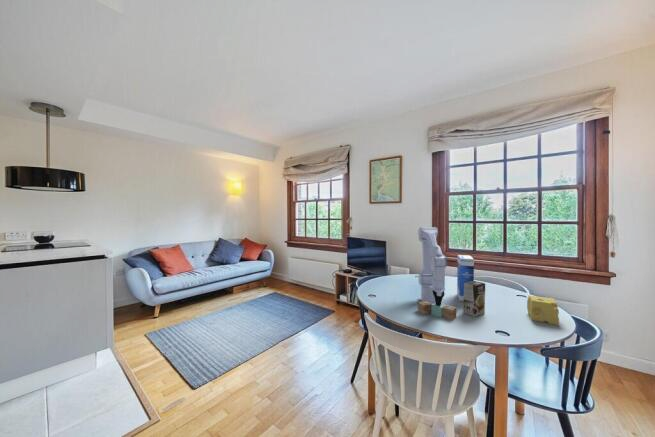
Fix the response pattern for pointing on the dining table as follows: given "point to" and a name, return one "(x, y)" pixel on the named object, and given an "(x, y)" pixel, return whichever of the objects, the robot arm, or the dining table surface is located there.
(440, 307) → the plain block
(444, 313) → the digit block seven
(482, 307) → the coffee box
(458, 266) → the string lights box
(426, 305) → the digit block one
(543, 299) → the cheese
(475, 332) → the dining table surface
